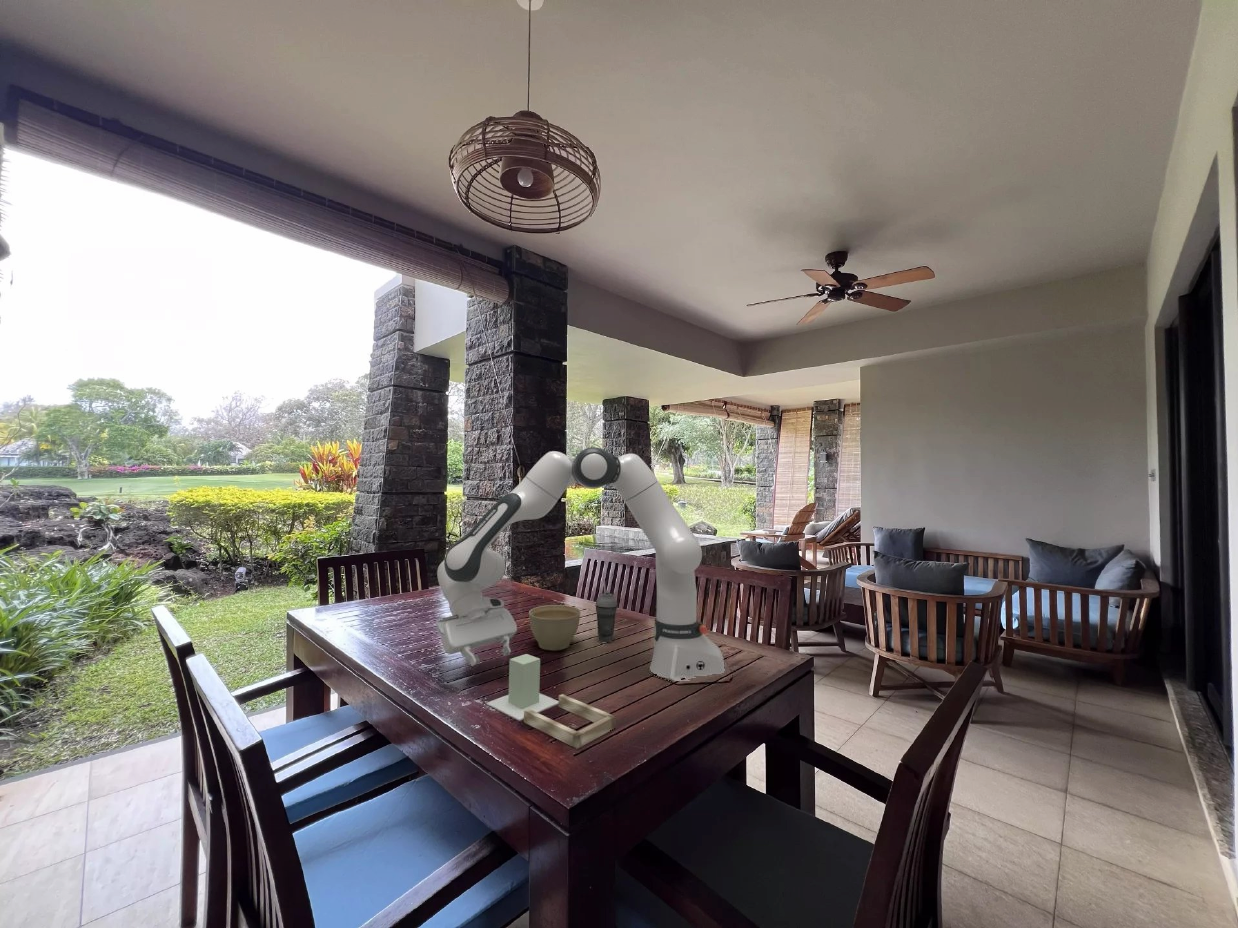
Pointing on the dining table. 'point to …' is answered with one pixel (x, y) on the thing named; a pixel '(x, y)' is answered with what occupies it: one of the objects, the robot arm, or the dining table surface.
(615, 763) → the dining table surface
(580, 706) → the lane
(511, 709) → the mat
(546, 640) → the planter bowl
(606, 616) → the beverage cup
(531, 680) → the block
